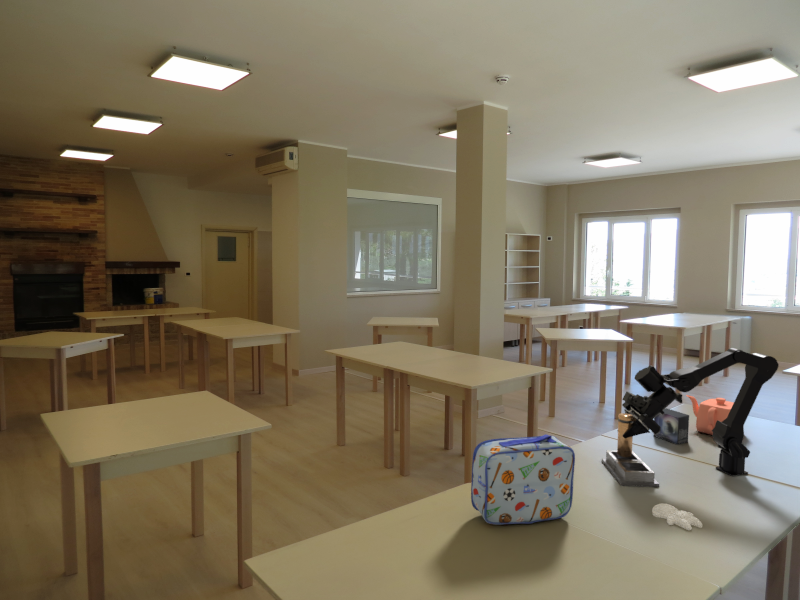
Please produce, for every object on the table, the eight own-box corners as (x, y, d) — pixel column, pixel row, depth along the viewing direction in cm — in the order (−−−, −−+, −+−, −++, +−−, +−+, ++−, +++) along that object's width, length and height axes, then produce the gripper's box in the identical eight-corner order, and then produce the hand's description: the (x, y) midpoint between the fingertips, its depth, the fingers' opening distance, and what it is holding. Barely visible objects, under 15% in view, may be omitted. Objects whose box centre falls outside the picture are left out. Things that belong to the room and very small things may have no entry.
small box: (652, 436, 200) (653, 409, 199) (663, 433, 203) (664, 407, 202) (676, 445, 190) (678, 417, 190) (688, 442, 193) (690, 414, 192)
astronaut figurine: (681, 533, 129) (681, 522, 129) (644, 511, 141) (645, 500, 140) (708, 528, 132) (708, 516, 132) (670, 507, 143) (670, 496, 143)
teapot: (694, 420, 220) (696, 388, 219) (747, 432, 205) (749, 397, 204) (673, 429, 207) (675, 395, 206) (728, 443, 193) (730, 406, 191)
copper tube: (635, 455, 168) (636, 415, 167) (627, 458, 166) (628, 418, 165) (622, 450, 172) (623, 412, 171) (613, 454, 169) (615, 414, 168)
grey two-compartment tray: (601, 461, 175) (602, 449, 174) (635, 462, 174) (635, 450, 173) (621, 485, 156) (621, 472, 155) (659, 487, 155) (659, 474, 155)
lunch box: (558, 501, 145) (560, 424, 144) (580, 519, 136) (583, 436, 134) (467, 513, 138) (468, 432, 136) (483, 533, 128) (485, 446, 126)
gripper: (629, 377, 176) (594, 408, 178) (651, 391, 157) (612, 426, 159) (652, 400, 176) (617, 431, 178) (677, 417, 157) (638, 452, 159)
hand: (620, 434), depth 168 cm, fingers closed on copper tube, 4 cm apart
